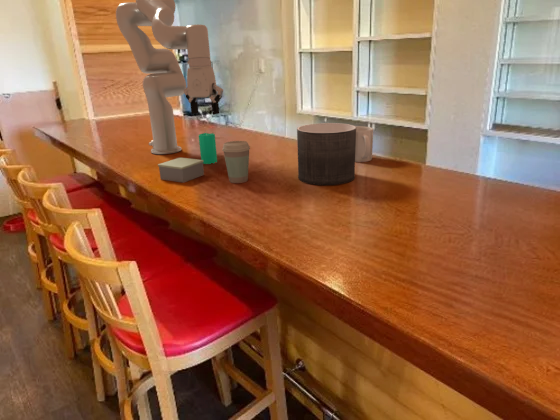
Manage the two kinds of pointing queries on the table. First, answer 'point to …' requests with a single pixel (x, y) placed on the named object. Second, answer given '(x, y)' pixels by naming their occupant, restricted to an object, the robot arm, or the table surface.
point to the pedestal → (181, 169)
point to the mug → (364, 144)
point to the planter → (326, 153)
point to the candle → (208, 148)
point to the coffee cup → (237, 160)
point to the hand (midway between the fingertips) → (205, 113)
